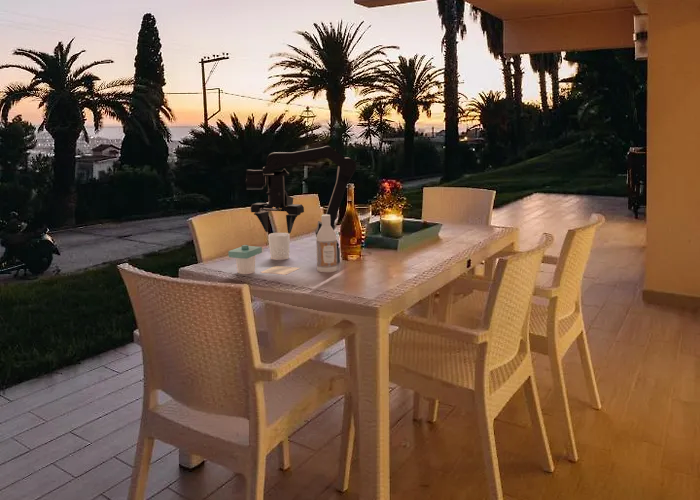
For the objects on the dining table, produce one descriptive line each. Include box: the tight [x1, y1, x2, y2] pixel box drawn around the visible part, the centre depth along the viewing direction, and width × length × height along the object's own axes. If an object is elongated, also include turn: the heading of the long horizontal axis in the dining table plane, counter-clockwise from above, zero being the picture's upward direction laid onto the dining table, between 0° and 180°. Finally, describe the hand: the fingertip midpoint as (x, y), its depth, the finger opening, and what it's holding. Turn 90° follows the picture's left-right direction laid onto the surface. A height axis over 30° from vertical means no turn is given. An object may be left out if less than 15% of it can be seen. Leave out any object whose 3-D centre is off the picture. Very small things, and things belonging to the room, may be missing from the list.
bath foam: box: [315, 213, 338, 273], centre depth 205 cm, size 7×7×20 cm
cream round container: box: [235, 255, 256, 275], centre depth 205 cm, size 7×7×7 cm
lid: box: [227, 244, 263, 259], centre depth 204 cm, size 7×10×3 cm
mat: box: [260, 265, 301, 276], centre depth 207 cm, size 10×10×1 cm
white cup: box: [268, 232, 291, 261], centre depth 226 cm, size 8×8×10 cm
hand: (278, 232), depth 214 cm, fingers open, 9 cm apart
